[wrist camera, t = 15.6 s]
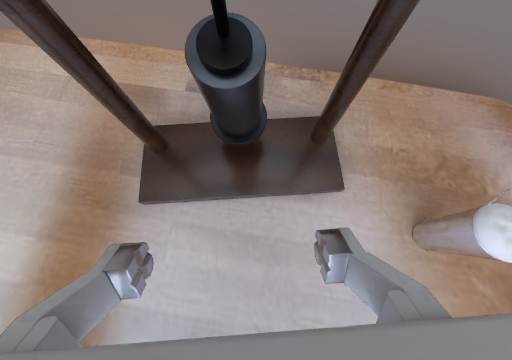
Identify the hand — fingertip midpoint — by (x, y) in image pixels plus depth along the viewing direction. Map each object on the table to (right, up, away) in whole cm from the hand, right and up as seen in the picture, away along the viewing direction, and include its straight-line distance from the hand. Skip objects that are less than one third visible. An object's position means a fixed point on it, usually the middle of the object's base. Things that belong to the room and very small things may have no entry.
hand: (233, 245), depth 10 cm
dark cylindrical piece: (-1, +11, +13) cm, 17 cm away
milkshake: (+21, -3, +14) cm, 25 cm away
